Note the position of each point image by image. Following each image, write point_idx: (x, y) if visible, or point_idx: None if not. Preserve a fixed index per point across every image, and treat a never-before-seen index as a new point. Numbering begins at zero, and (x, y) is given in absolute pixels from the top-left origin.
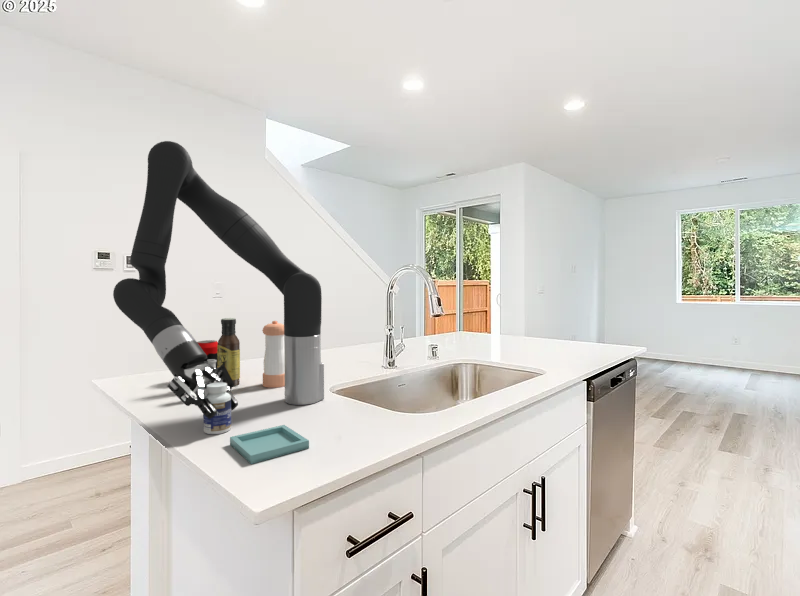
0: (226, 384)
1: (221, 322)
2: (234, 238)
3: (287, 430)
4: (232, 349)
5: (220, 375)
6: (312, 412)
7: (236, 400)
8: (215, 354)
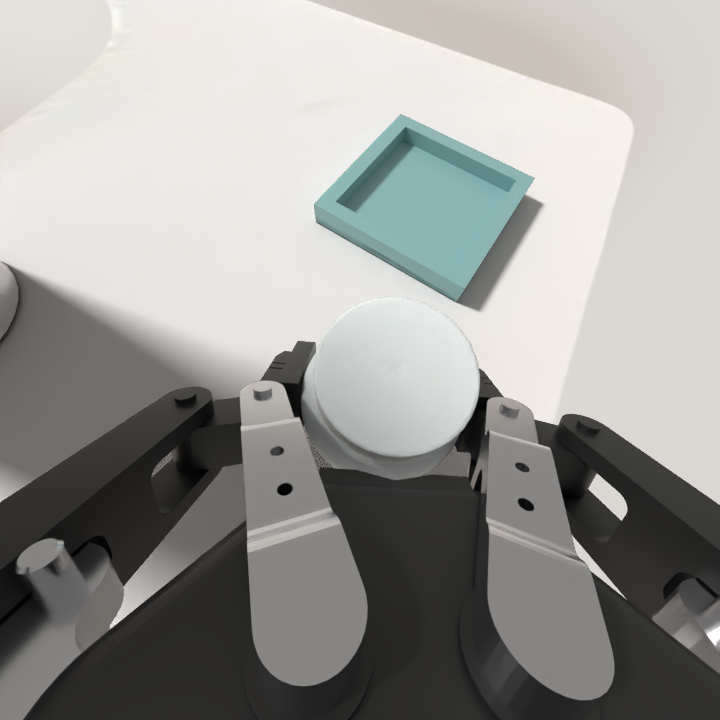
0: (365, 302)
1: None
2: None
3: (355, 177)
4: None
5: (102, 553)
6: (115, 224)
7: (279, 356)
8: None
